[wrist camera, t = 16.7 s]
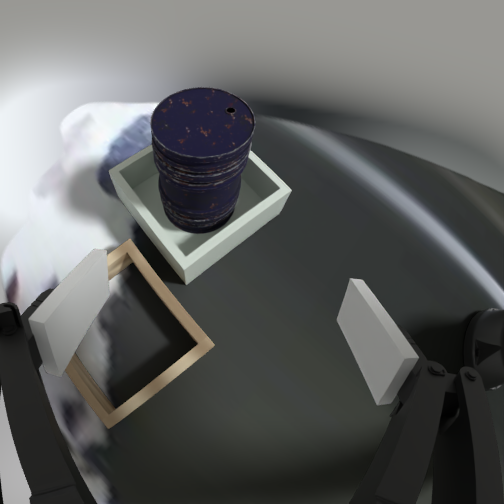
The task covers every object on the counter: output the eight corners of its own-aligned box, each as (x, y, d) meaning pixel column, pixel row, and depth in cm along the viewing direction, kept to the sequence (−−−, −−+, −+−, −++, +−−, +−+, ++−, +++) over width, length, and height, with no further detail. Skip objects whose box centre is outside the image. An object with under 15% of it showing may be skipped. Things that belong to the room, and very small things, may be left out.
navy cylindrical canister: (179, 247, 36) (170, 174, 22) (151, 186, 38) (136, 103, 25) (249, 216, 39) (277, 139, 25) (216, 161, 41) (227, 78, 28)
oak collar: (135, 249, 36) (129, 238, 33) (213, 346, 33) (214, 345, 30) (46, 320, 30) (33, 315, 27) (116, 423, 28) (108, 429, 25)
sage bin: (207, 141, 44) (210, 114, 38) (279, 213, 41) (291, 190, 36) (118, 196, 38) (108, 170, 33) (186, 285, 35) (184, 270, 30)
